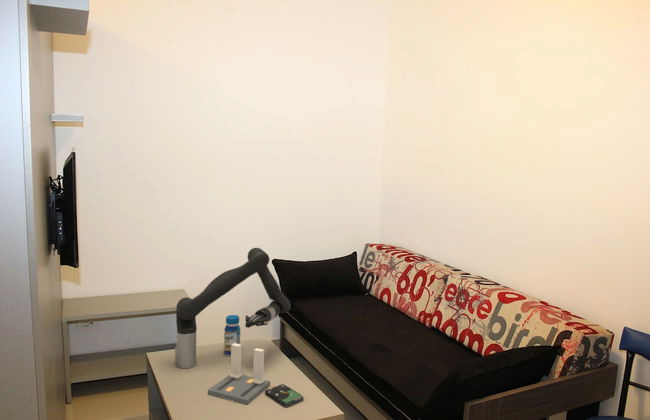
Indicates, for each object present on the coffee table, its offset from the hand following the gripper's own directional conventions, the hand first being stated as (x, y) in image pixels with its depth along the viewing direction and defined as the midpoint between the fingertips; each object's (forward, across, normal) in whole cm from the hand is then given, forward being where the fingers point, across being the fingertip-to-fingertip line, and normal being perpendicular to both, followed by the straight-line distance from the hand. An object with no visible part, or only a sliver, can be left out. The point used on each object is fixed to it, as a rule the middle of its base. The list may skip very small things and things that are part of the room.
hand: (247, 325), depth 249 cm
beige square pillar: (+9, 0, +22) cm, 23 cm away
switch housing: (+15, +6, +24) cm, 29 cm away
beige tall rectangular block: (+9, +12, +22) cm, 26 cm away
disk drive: (+12, +27, +25) cm, 39 cm away
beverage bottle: (-17, -19, +24) cm, 35 cm away
